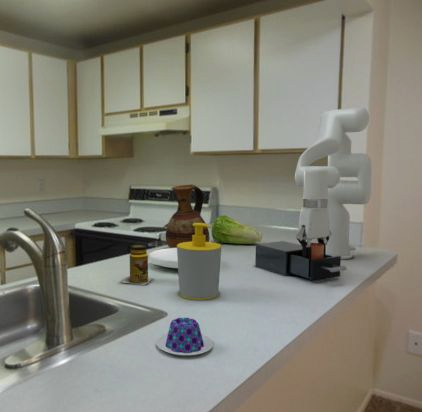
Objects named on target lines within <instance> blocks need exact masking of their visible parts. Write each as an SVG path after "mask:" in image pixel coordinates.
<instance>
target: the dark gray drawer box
mask: <svg viewBox="0 0 422 412" xmlns="http://www.w3.org/2000/svg"><path fill="white" fill-rule="evenodd" d="M295 252H302V246H301V244H300V243H295V242H291V241H290V242H289V241H286V240H279V241H272V242H262V243H261V242H260V243H255V259H254V261H255V265H254V267H256V268H259V269H262V270H266V271H269V272H271V273H275V274H278V275H281V276H284V277H287V276H294V275H296V274H293V273H290V272H287V261H288V253H295Z"/></svg>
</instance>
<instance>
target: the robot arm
mask: <svg viewBox="0 0 422 412" xmlns="http://www.w3.org/2000/svg"><path fill="white" fill-rule="evenodd" d="M369 121H370V115H369V111H368V109H367V108H365V107H353V108H351V107H350V108H339V109H330V110H326V111H323V112H322V113H321V114H320V116H319V124H318V129H317V133H316V139H315V142H314V143H313V144H311V145H310V146H309V147H307V148H306V149H305V150H304V151H303V152H302V154H300V156H299V158H298V161H297V164H296V168H295V172H294V182H295V184H296V186H297V187H299V188H303V193H302V194H303V196H302V197H303V198H302V208H300V213H299V218H298V226H297V234H296V236H295V239H296V240H297V241H298V244H299V245H301V246H302V257H304V258H308V259H311V247H310V244H311V243H312V240H315V239H316V241H317V243H321V244H324V257H325V255H331V256H333V257H334V256H340V257H341V260H349V259H352V258H353V254H352V253H351V251H355V250H356V248H357V247H356V246H355V245H350V222H351V221H350V218H351V217H350V215H351V214H350V212H349V211H348V209H347V208H346V207H345V205H366V204H368V203H369V202H370V199H371V193H372V192H371V191H372V167H373V165H372V158H371V156H370V155H369V154H367V153H362V152H359V153H357V152H356V153H355V152H353V153H352V139H351V138H350V137H349V136H348V133H359V132H363V131H364V130H365V129H367V127H368V125H369ZM326 157H327V165H326V166H325V165H314V166H313V165H312V166H311V164H312V163H314V162H316V161H318V160H321V159H324V158H326ZM341 178H357V180H347V179H346V180H343V179H341Z"/></svg>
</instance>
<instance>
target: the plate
mask: <svg viewBox="0 0 422 412" xmlns="http://www.w3.org/2000/svg"><path fill="white" fill-rule="evenodd" d="M148 262H149V263H151V264H153V265H156V266H160V267H164V268H171V269H178V258H177V248H170V247H168V248H162V249H156V250H153V251H151V252H150V253H149V254H148Z"/></svg>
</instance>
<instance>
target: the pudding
mask: <svg viewBox="0 0 422 412" xmlns="http://www.w3.org/2000/svg"><path fill="white" fill-rule="evenodd" d="M201 331H202V330H201V327H200V324H199V322H198V321H197V320H196V319H194V318H190V317H177V318H175V319H172V320H171V322H170V324H169V328H168V332H166V333H164V334H162V335H160V336H158V338H157V339H156V341H155V344H156V346H157V347H158V348H159V349H160V350H161V351H163V352H166V353H168V354H172V355H177V356H196V355H200V354H204V353H206V352H208V351H210V350H211V349H212V348H213V346H214V342H213V340H212V339H211V338H210V337H209V336H208V335H205V334H203V333H202V332H201Z"/></svg>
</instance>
